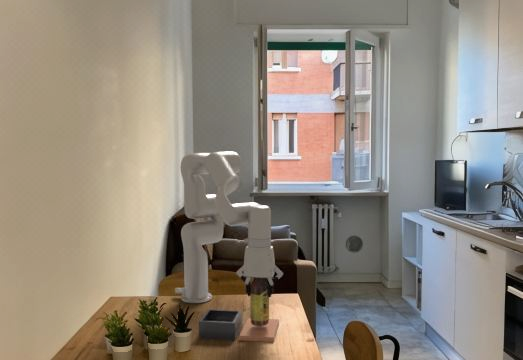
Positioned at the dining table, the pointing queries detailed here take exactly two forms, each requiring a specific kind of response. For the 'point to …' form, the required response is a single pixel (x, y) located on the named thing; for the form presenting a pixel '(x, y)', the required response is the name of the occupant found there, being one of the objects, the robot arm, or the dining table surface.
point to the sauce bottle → (259, 302)
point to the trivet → (260, 331)
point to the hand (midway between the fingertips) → (259, 295)
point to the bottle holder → (220, 324)
